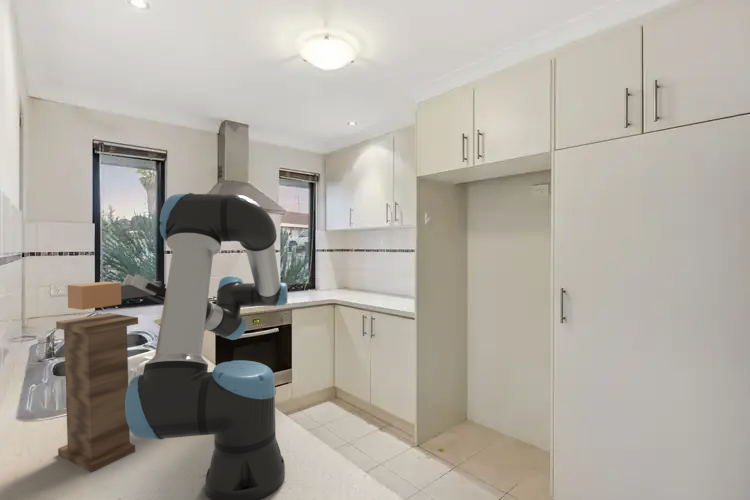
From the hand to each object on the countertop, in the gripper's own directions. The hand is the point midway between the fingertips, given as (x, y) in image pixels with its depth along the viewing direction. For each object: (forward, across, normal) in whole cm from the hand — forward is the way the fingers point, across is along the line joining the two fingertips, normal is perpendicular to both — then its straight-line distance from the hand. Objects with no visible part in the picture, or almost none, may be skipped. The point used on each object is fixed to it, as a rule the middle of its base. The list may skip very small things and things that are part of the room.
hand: (129, 279), depth 96 cm
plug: (-1, 0, -6) cm, 6 cm away
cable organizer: (-37, +24, -24) cm, 50 cm away
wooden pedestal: (-13, 0, -38) cm, 40 cm away
